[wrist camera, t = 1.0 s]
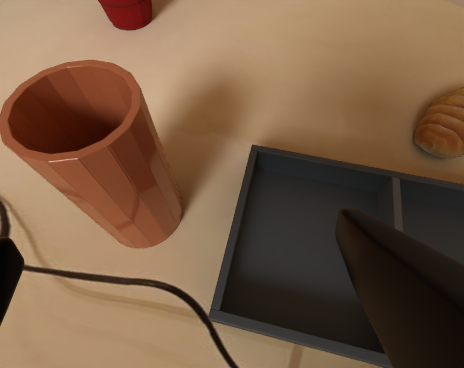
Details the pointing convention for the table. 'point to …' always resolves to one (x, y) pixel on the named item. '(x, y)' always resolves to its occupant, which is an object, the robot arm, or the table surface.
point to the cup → (96, 148)
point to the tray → (320, 247)
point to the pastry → (443, 126)
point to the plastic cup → (128, 13)
